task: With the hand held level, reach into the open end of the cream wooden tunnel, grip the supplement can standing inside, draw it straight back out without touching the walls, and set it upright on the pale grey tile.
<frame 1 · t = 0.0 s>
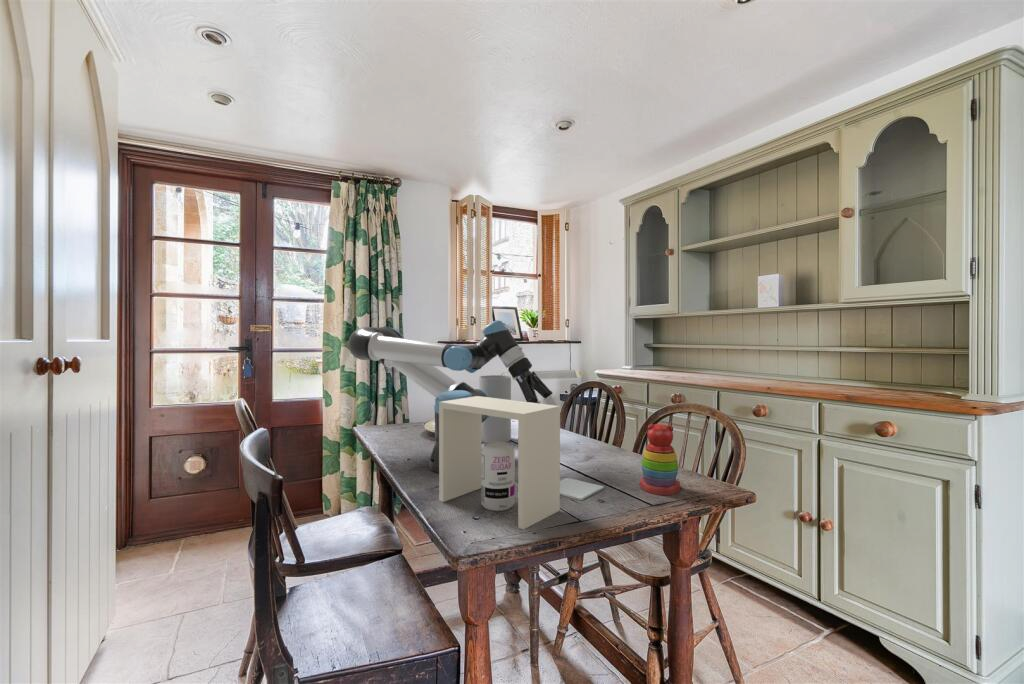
hand: (553, 417, 151), 15 cm above the table, tool tilted 35°, fingers open, 13 cm apart
cylinder vase: (494, 440, 184), on the table
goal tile: (573, 489, 127), on the table
supplement can: (497, 506, 115), on the table
stacking bear: (659, 489, 127), on the table
tunnel: (497, 505, 115), on the table
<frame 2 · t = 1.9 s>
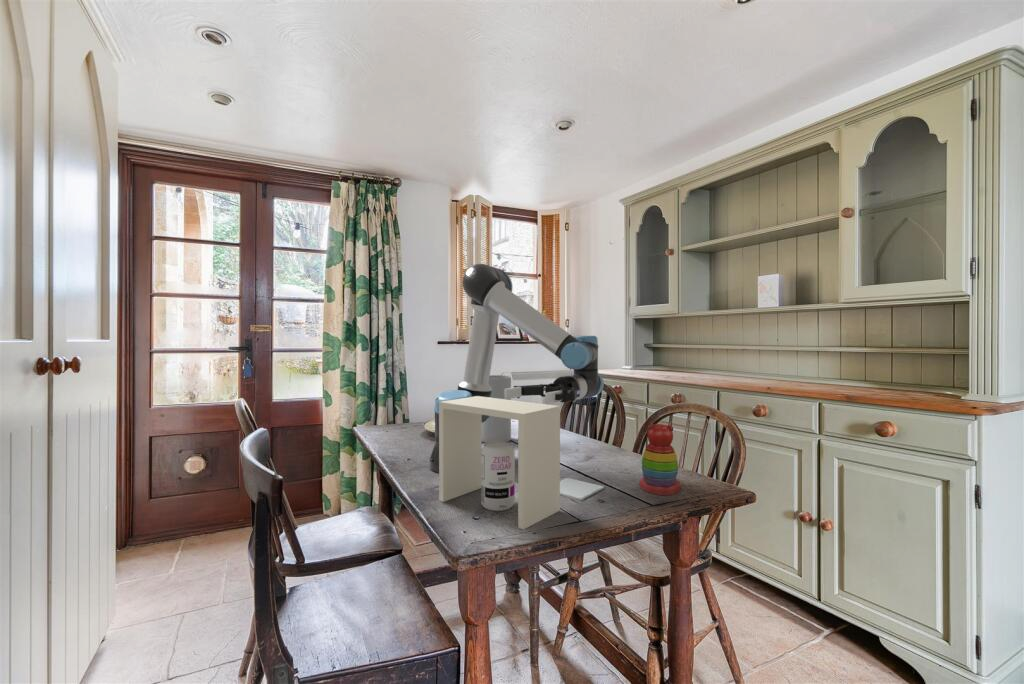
hand: (525, 396, 123), 26 cm above the table, tool horizontal, fingers open, 13 cm apart
nothing on the table moved.
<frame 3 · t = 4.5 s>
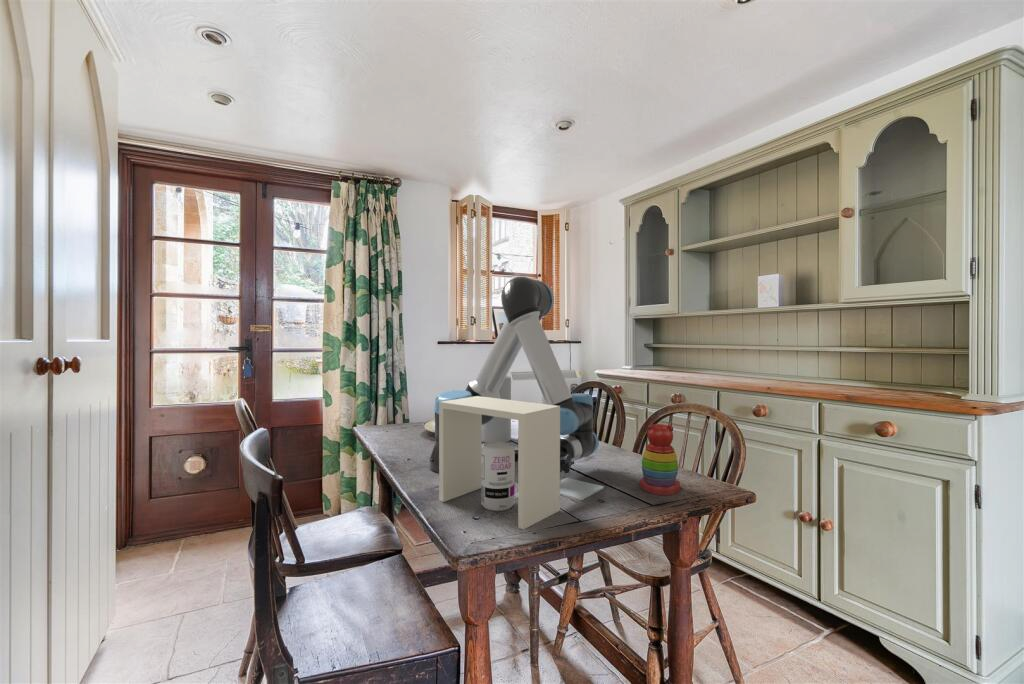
hand: (518, 467, 120), 8 cm above the table, tool horizontal, fingers open, 13 cm apart
nothing on the table moved.
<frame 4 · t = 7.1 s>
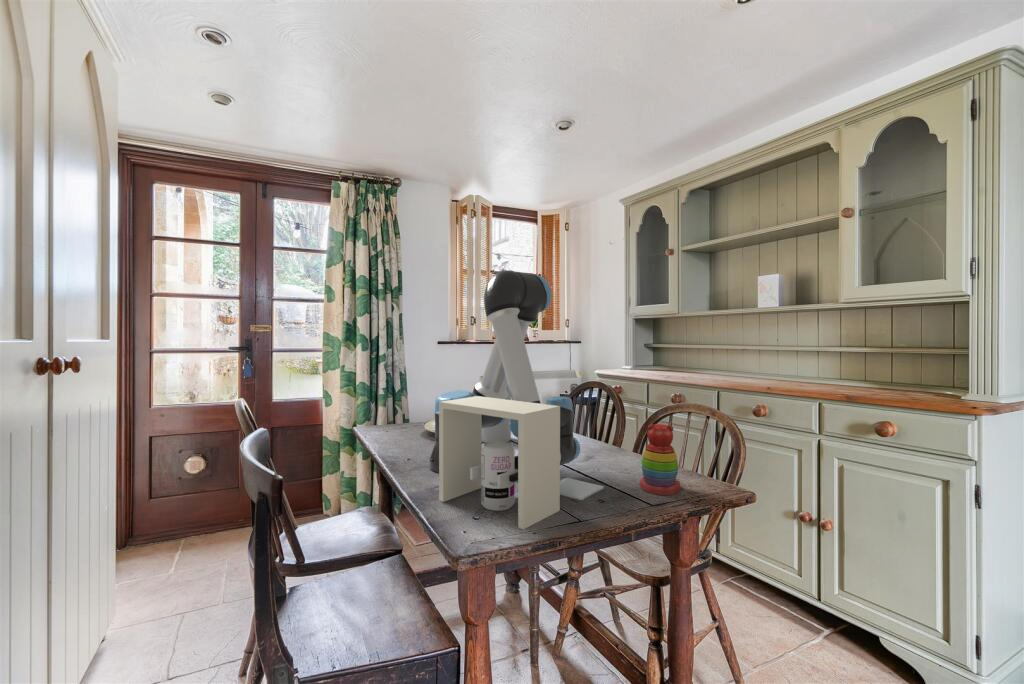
hand: (484, 477, 111), 8 cm above the table, tool horizontal, fingers closed on supplement can, 8 cm apart
supplement can: (497, 506, 115), on the table, touching gripper
everything else where it was.
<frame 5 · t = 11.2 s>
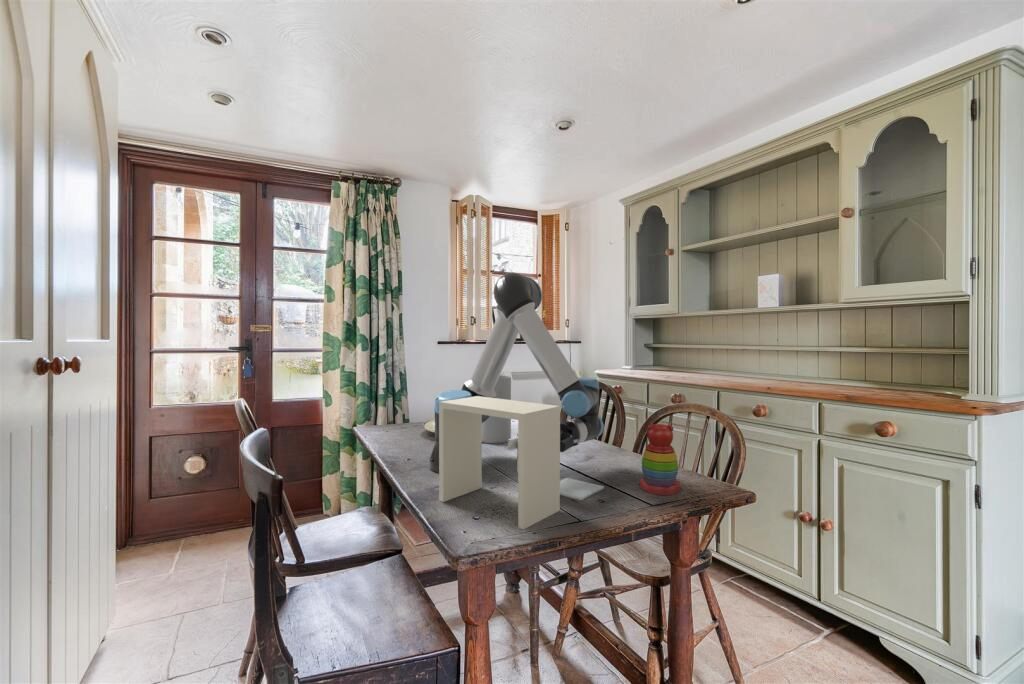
hand: (522, 447, 122), 13 cm above the table, tool horizontal, fingers closed on supplement can, 8 cm apart
supplement can: (532, 474, 126), point 4 cm above the table, touching gripper
everything else where it was.
when the fingers open (10 cm above the table, at t = 15.3 s): supplement can drops 1 cm, resting on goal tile.
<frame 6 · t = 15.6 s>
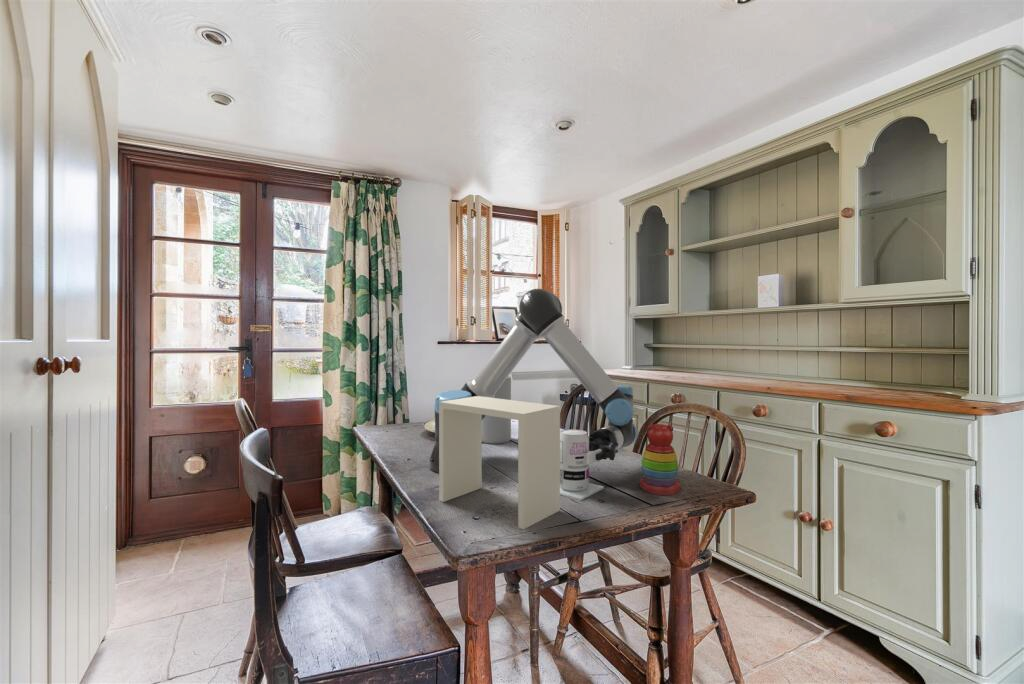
hand: (566, 455, 124), 10 cm above the table, tool horizontal, fingers open, 12 cm apart
supplement can: (573, 487, 127), resting on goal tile
everything else where it was.
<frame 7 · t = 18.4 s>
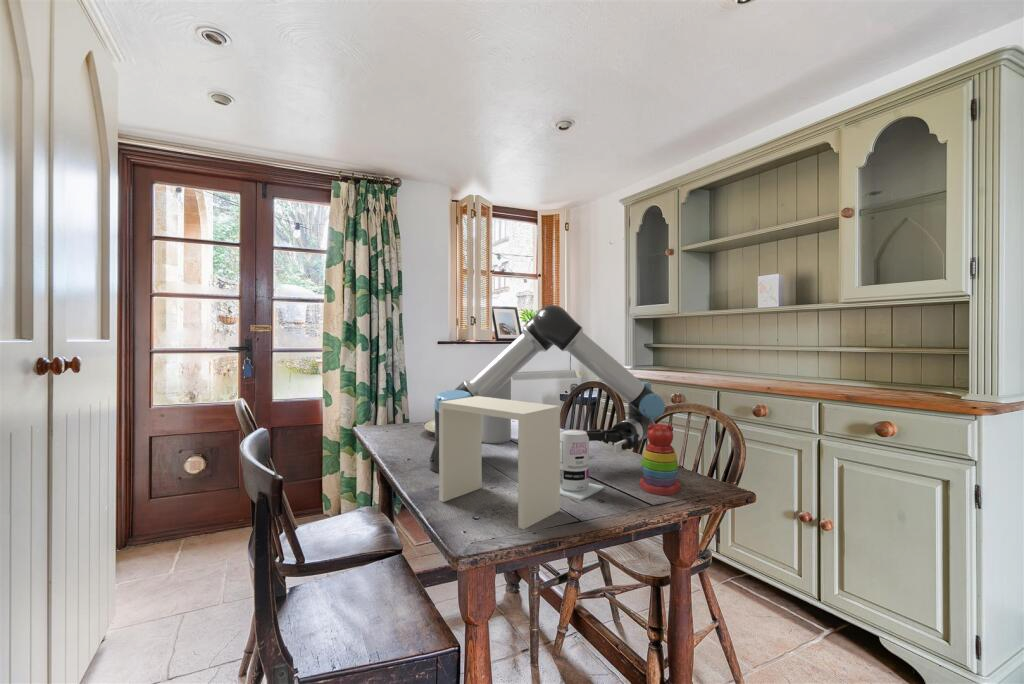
hand: (593, 445, 135), 10 cm above the table, tool horizontal, fingers open, 13 cm apart
nothing on the table moved.
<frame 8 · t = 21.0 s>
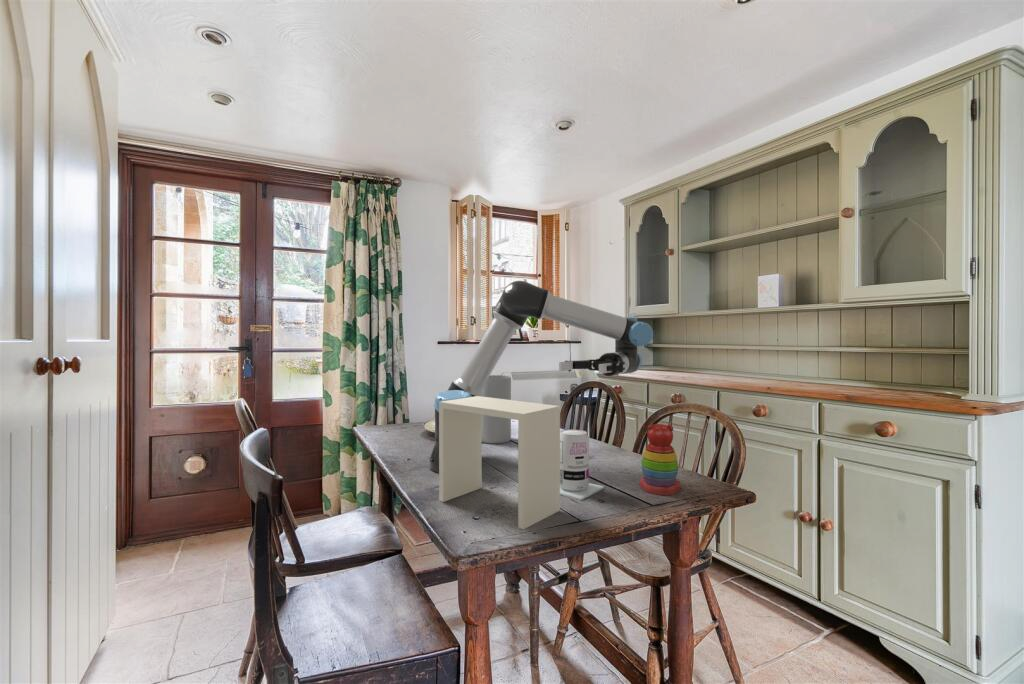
hand: (579, 367, 139), 32 cm above the table, tool horizontal, fingers open, 13 cm apart
nothing on the table moved.
at the end: supplement can inside the target area on the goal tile (0.1 cm from its centre), point 0.3 cm above the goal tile's base; supplement can tilted 0°; the gripper is holding nothing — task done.
